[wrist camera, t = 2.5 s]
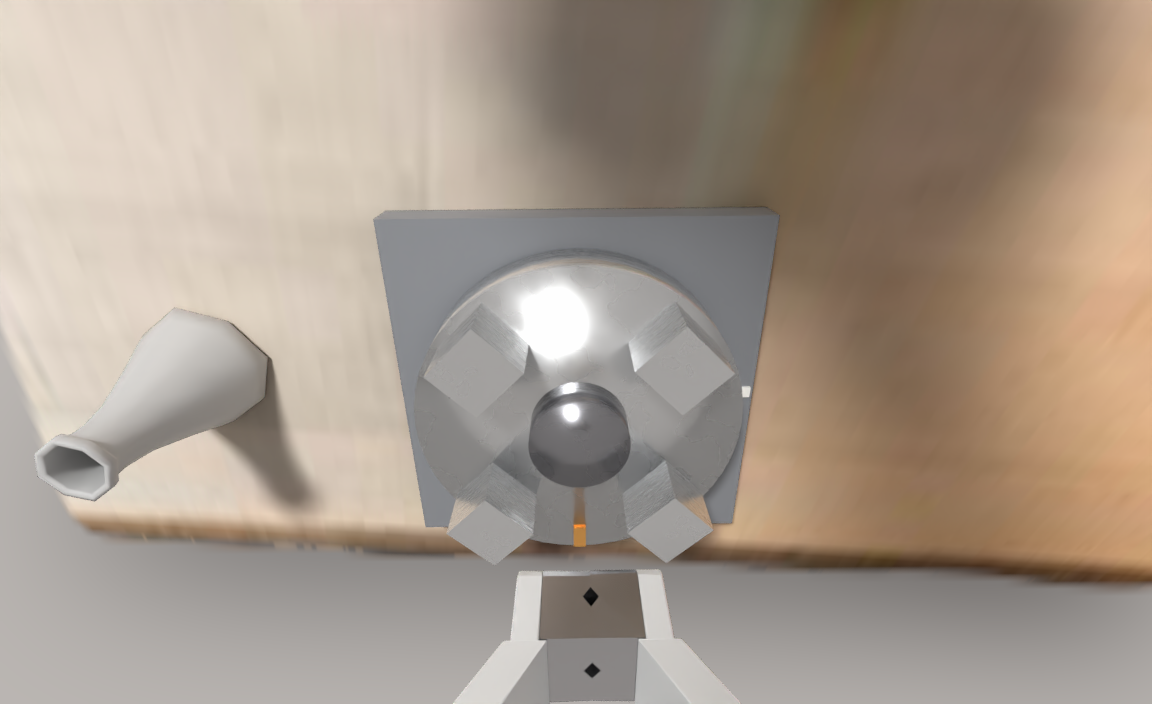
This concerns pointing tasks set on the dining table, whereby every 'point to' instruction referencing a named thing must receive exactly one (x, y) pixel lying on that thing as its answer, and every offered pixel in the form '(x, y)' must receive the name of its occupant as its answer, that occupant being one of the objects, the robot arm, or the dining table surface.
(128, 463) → the flask
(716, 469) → the domed disc mount
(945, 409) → the dining table surface
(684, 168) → the dining table surface
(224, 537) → the dining table surface
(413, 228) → the flat gray base plate
